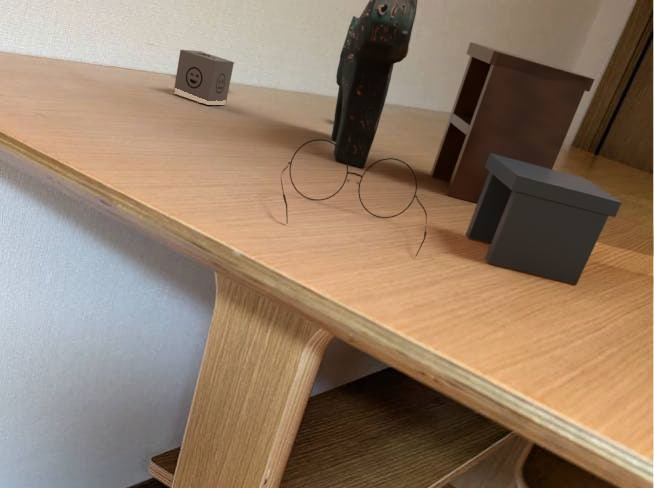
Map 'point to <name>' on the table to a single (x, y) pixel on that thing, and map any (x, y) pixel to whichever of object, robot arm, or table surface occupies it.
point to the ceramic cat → (368, 74)
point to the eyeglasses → (357, 183)
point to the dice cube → (203, 75)
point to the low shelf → (539, 219)
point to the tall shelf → (505, 117)
